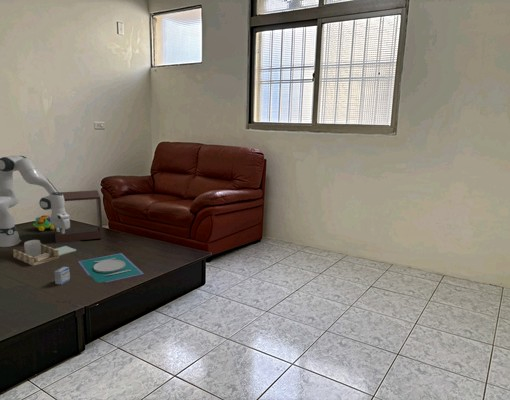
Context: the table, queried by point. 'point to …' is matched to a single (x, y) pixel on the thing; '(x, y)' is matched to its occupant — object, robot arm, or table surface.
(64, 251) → the sage board
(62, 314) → the table surface
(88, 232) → the storage cube
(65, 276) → the medicine box
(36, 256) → the birch offcut
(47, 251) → the frame
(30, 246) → the photo printer
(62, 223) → the robot arm
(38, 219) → the turtle toy
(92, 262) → the place mat
